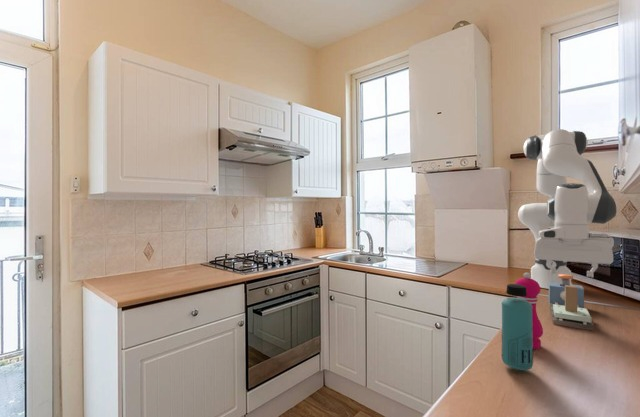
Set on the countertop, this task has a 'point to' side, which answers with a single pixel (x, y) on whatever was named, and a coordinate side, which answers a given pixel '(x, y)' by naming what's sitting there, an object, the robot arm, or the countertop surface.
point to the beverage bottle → (517, 329)
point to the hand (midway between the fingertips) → (571, 275)
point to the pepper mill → (532, 298)
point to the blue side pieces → (559, 294)
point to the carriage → (571, 307)
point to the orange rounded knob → (565, 279)
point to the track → (570, 322)
